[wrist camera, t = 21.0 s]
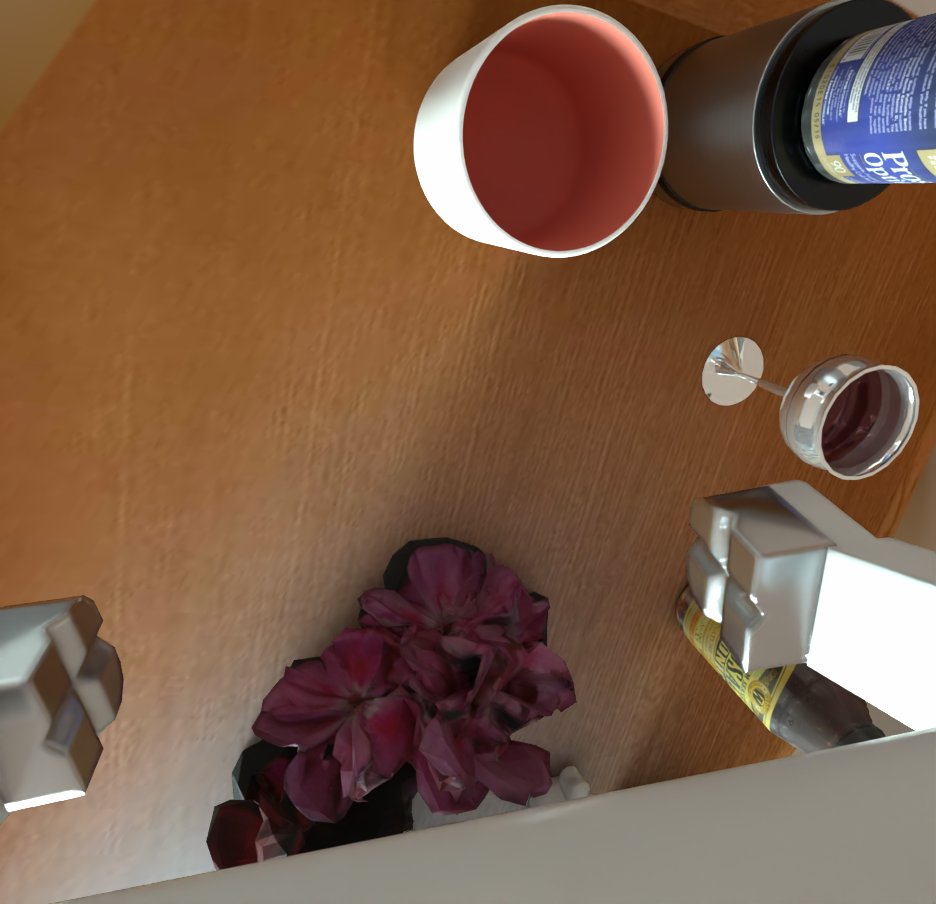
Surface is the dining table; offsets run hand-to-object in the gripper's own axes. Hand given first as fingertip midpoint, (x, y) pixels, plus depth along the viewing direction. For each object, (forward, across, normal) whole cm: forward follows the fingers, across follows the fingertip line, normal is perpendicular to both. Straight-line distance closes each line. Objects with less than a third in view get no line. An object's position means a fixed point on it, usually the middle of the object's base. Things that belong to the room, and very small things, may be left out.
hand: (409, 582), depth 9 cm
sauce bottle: (+33, -22, +32) cm, 51 cm away
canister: (+36, -21, -3) cm, 41 cm away
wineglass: (+35, -24, +12) cm, 44 cm away
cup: (+34, -8, -3) cm, 35 cm away
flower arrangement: (+30, +4, +32) cm, 44 cm away
